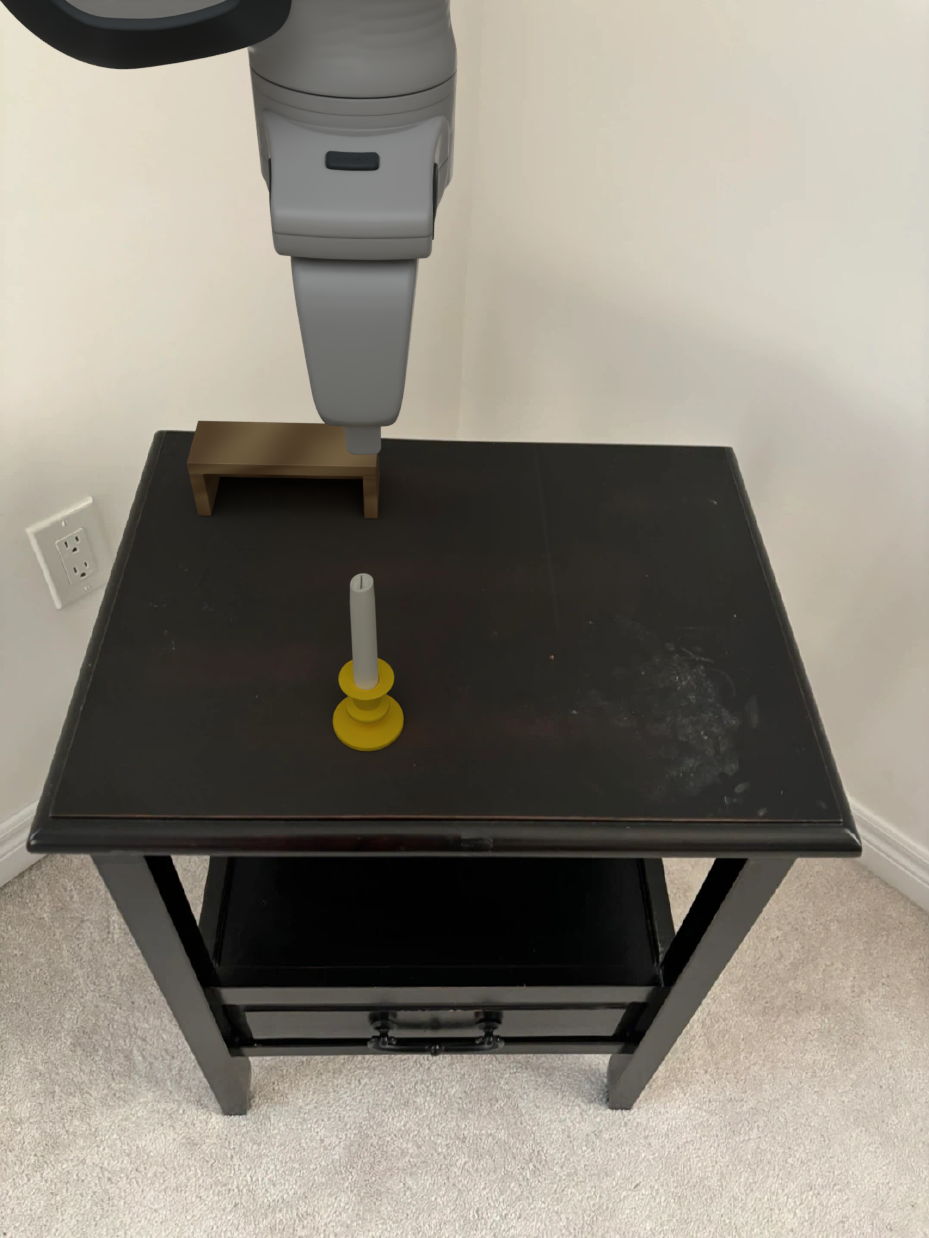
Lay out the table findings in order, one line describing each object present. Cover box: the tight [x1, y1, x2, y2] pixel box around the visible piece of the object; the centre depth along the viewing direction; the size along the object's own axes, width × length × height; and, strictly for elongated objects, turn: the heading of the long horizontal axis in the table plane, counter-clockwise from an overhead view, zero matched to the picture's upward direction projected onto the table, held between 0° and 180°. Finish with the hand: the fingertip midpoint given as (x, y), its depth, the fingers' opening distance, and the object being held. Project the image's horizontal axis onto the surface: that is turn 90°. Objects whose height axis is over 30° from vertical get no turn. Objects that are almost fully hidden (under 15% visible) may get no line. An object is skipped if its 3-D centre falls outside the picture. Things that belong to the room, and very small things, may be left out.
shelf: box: [186, 420, 381, 520], centre depth 83 cm, size 16×6×6 cm, turn 92°
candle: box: [332, 572, 405, 752], centre depth 63 cm, size 5×5×16 cm
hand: (365, 394), depth 52 cm, fingers open, 8 cm apart
